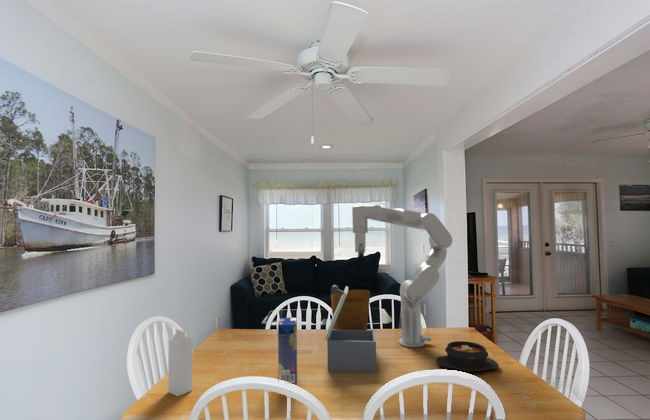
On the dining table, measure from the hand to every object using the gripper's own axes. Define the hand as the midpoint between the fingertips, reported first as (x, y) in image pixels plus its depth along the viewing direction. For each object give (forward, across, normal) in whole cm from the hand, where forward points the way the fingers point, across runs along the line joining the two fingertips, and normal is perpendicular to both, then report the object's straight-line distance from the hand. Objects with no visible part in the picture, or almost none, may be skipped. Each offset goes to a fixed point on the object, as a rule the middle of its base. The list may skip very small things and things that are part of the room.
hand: (361, 264), depth 184 cm
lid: (+18, +24, -11) cm, 32 cm away
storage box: (+40, +25, -6) cm, 47 cm away
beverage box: (+40, +40, -31) cm, 64 cm away
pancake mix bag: (+40, +3, -6) cm, 41 cm away
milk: (+39, +54, -68) cm, 96 cm away
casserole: (+41, +26, +42) cm, 64 cm away
